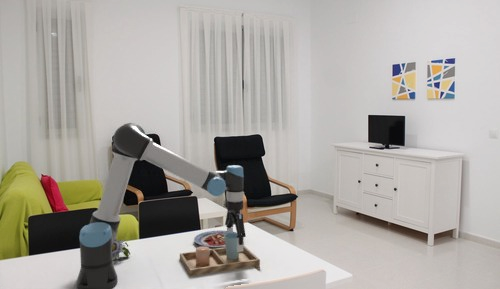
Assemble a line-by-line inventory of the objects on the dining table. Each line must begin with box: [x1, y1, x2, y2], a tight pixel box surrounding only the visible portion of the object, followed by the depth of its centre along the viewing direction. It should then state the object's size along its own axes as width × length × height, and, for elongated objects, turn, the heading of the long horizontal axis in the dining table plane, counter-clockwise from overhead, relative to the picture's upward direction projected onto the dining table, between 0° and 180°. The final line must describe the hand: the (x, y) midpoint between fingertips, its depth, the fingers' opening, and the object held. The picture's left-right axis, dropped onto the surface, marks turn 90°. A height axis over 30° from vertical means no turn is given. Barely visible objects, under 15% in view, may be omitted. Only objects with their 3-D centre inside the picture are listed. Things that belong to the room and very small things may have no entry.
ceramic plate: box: [193, 229, 245, 248], centre depth 212 cm, size 26×26×3 cm
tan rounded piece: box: [195, 245, 211, 267], centre depth 179 cm, size 6×6×7 cm
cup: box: [224, 232, 239, 260], centre depth 187 cm, size 8×8×10 cm
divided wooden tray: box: [179, 244, 261, 277], centre depth 182 cm, size 31×20×4 cm, turn 112°
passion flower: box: [112, 237, 131, 261], centre depth 188 cm, size 11×11×12 cm
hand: (234, 246), depth 184 cm, fingers open, 13 cm apart
